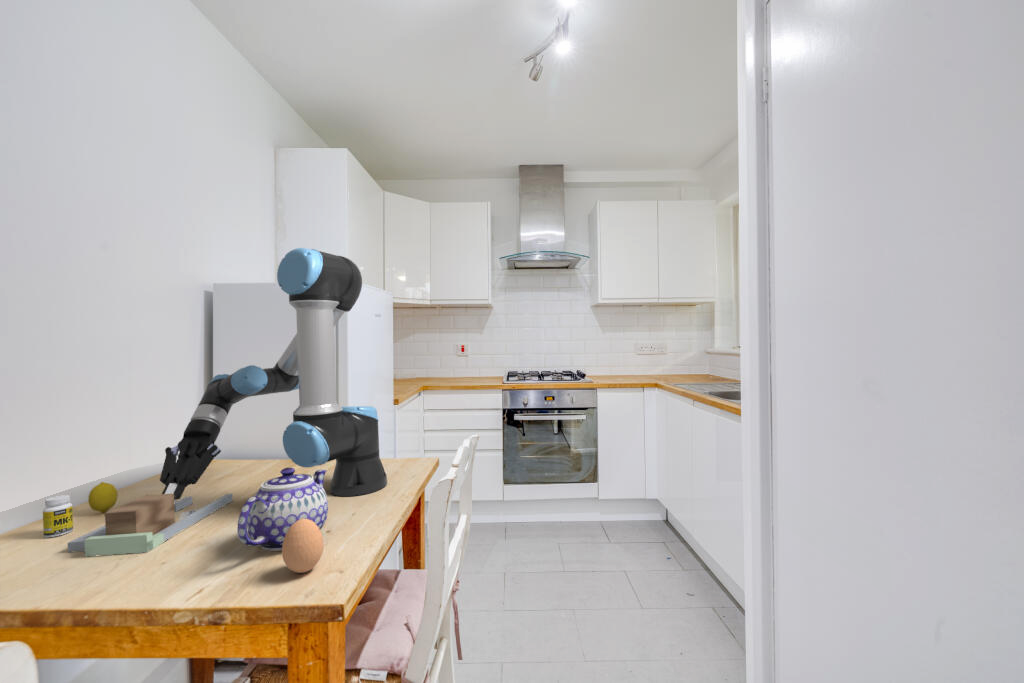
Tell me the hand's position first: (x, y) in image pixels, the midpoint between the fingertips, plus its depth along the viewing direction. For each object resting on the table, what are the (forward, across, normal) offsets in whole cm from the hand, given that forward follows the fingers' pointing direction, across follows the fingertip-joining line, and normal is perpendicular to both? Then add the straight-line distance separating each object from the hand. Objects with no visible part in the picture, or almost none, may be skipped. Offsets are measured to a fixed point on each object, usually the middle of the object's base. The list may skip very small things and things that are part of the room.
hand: (163, 512), depth 102 cm
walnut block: (+7, 0, +3) cm, 8 cm away
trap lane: (+2, +2, -3) cm, 4 cm away
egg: (+20, -43, +17) cm, 51 cm away
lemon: (-6, +24, -12) cm, 28 cm away
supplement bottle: (+3, +24, -3) cm, 24 cm away
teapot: (+11, -34, +7) cm, 37 cm away
